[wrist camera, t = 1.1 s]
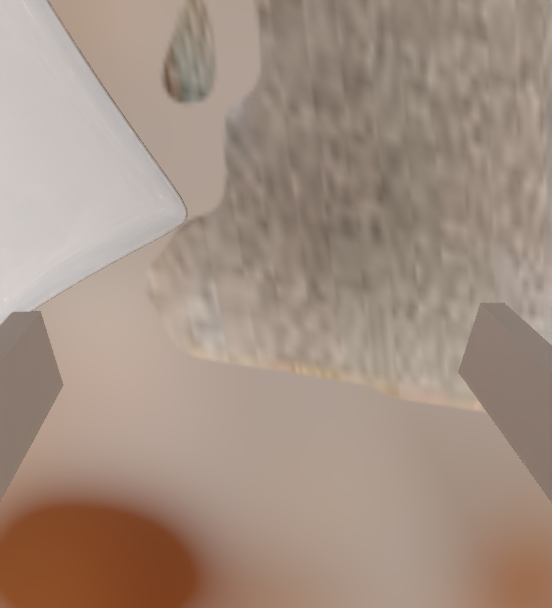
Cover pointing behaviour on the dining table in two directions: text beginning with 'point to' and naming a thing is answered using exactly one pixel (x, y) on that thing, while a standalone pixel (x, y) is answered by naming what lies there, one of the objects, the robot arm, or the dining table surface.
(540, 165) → the dining table surface
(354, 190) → the dining table surface
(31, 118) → the salad plate
